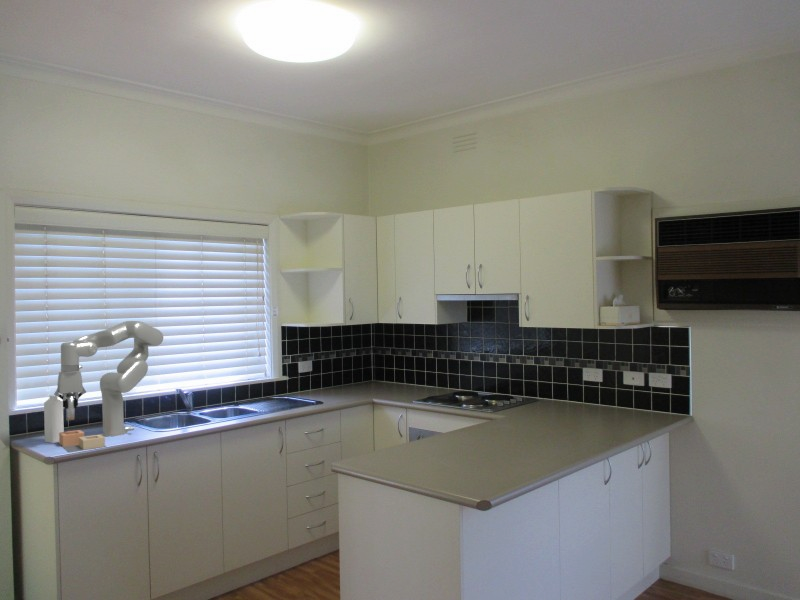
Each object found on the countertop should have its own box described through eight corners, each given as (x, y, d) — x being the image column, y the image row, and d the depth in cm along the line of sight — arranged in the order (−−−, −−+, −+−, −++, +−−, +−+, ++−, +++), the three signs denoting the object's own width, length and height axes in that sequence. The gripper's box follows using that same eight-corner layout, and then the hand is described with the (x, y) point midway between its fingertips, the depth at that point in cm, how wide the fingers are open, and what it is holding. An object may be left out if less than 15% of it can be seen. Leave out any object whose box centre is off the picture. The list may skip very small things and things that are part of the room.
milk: (56, 439, 322) (55, 394, 322) (64, 440, 319) (63, 395, 319) (44, 442, 317) (43, 396, 316) (52, 443, 314) (51, 397, 314)
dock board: (94, 440, 319) (94, 427, 318) (106, 449, 300) (106, 435, 299) (57, 445, 309) (57, 432, 309) (68, 455, 290) (67, 441, 290)
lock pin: (74, 418, 310) (74, 390, 310) (76, 419, 306) (76, 391, 306) (64, 419, 307) (64, 391, 307) (66, 420, 303) (66, 392, 303)
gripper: (87, 366, 314) (87, 405, 315) (48, 369, 304) (49, 409, 305) (91, 368, 308) (91, 407, 309) (51, 370, 298) (52, 411, 299)
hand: (70, 407), depth 307 cm, fingers closed on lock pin, 3 cm apart
